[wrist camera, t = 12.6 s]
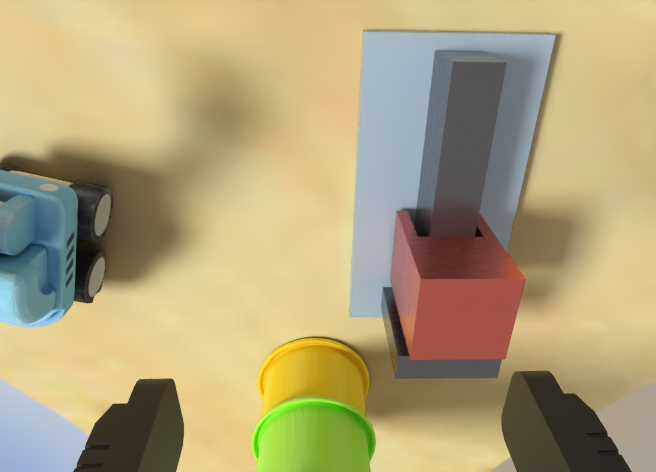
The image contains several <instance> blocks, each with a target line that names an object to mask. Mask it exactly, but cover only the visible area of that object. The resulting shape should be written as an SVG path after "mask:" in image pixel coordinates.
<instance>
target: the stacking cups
mask: <svg viewBox="0 0 656 472" xmlns="http://www.w3.org/2000/svg"><path fill="white" fill-rule="evenodd" d="M258 390H259V394H260V396H261V398H262V400H263V406H262V414H261V419H260V420H259V421H258V423H257V425H256V426H255V429H254V432H253V435H252V441H251V444H252V451H253V455H254V457H255V459H256V461H257V463H258V466H257V472H371V471H370V460H371V458H372V456H373V454H374V451H375V446H376V439H375V433H374V430H373V427H372V425H371V423H370V422H369V420H368V419H367V418H366V413H365V404H364V400H365V398H366V396H367V393H368V391H369V373H368V370H367V367H366V365H365V363H364V362H363V360H362V359H361V357H360V356H359V355H358V354H357V353H356V352H355V351H353V350H352V349H351V348H349V347H347V346H346V345H344V344H342V343H339V342H337V341H333V340H330V339H324V338H304V339H299V340H295V341H292V342H289V343H287V344H285V345H283V346H281V347H279V348H277V349H276V350H275V351H273V352H272V353H271V354H270V355H269V356H268V357H267V359H266V360H265V361H264V363H263V365H262V367H261V369H260V372H259V376H258Z"/></svg>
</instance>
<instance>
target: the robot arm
mask: <svg viewBox="0 0 656 472" xmlns="http://www.w3.org/2000/svg"><path fill="white" fill-rule="evenodd" d="M501 422H502V432H503V436H504V440H505V443H506V445H507V448H508V450H509V453H510V455H511V458H512V460H513V463H514V465H515V468H516V470H517V472H632V471H631V470H630V468H629V467H628V465H627V464H626V462H625V460H624V459H623V457H622V455H619V453H618V449H617V447H616V446H615V444H614V442H613V441H612V439H611V438H610V437H608V435H607V431H606V429H605V428H604V426H603V425H602V423H601V422H600V420H599V418H598V417H597V415H596V413H595V412H594V411H593V410H592V409H591V408H590V407H589V406H588V405H587V404H585V403H584V402H583V401H582V400H581V399H580V398H579V397H578V396H577V395H575V394H564V393H563V392H562V390H561V388H560V386H559V385H558V383H557V381H556V379H555V378H554V376H553V375H552V374H551V373H550V372H549V371H518V372H514V374H513V375H512V378H511V382H510V386H509V390H508V393H507V397H506V401H505V404H504V408H503V412H502V419H501ZM183 438H184V423H183V417H182V413H181V409H180V404H179V400H178V395H177V391H176V386H175V382H174V380H173V379H140V380H138V381H137V382H136V384H135V386H134V389H133V391H132V394H131V396H130V398H129V401H128V403H127V404H113V405H112V406H111V407H110V408H109V409H108V410H107V411H106V412H105V413H104V414H103V416H102V417H101V418H100V419H99V420H98V421H97V422H96V423H95V425H94V427H93V430H92V432H91V434H90V436H89V438H88V441H87V443H86V445H85V450H83V451H82V454H81V456H80V458H79V460H78V463H77V468H76V469H74V471H73V472H176V470H177V466H178V462H179V458H180V454H181V450H182V446H183Z"/></svg>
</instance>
